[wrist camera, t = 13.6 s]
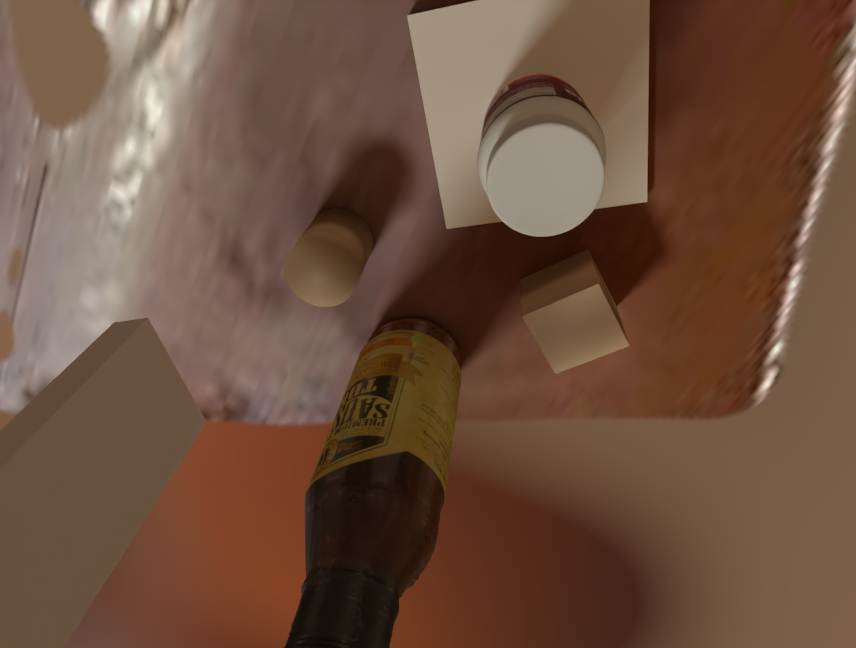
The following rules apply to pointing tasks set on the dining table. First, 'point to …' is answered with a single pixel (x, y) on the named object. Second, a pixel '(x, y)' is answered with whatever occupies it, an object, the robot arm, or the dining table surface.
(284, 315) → the dining table surface
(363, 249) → the cork
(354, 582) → the sauce bottle
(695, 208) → the dining table surface
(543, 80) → the pill bottle
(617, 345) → the beech block
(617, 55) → the tile
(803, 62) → the dining table surface
